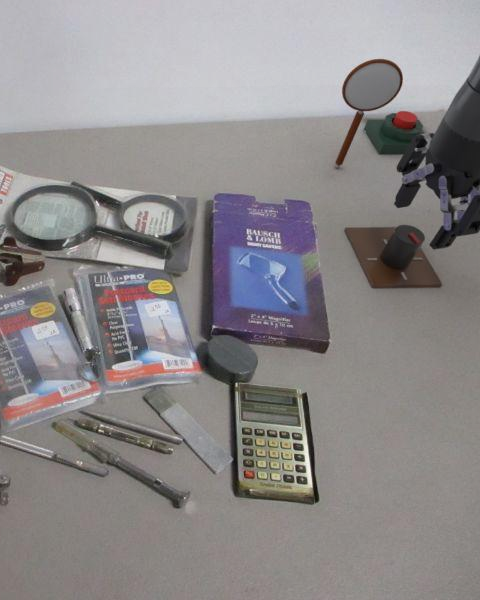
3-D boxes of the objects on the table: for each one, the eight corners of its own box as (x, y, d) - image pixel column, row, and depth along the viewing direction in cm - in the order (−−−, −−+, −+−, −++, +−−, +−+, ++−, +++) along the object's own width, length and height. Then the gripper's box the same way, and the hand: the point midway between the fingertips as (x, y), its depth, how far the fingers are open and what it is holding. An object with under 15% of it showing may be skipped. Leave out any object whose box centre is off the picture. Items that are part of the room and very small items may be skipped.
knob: (375, 251, 88) (390, 225, 84) (399, 247, 88) (415, 221, 84) (390, 271, 85) (406, 244, 81) (414, 266, 86) (432, 240, 82)
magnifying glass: (312, 168, 105) (354, 59, 90) (311, 162, 106) (353, 54, 91) (362, 173, 104) (414, 65, 89) (361, 167, 105) (411, 59, 90)
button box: (409, 129, 113) (418, 110, 110) (426, 154, 108) (437, 135, 105) (363, 129, 113) (371, 110, 110) (378, 154, 108) (387, 135, 105)
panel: (401, 238, 93) (409, 225, 91) (434, 296, 86) (443, 283, 83) (339, 239, 93) (345, 226, 91) (366, 297, 85) (373, 284, 83)
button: (408, 119, 109) (412, 110, 108) (416, 130, 107) (421, 121, 105) (389, 119, 109) (393, 110, 108) (397, 130, 107) (401, 121, 105)
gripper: (551, 154, 65) (475, 257, 77) (469, 87, 74) (413, 189, 86) (492, 162, 64) (424, 266, 76) (416, 93, 73) (366, 196, 85)
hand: (418, 225), depth 81 cm, fingers open, 8 cm apart
